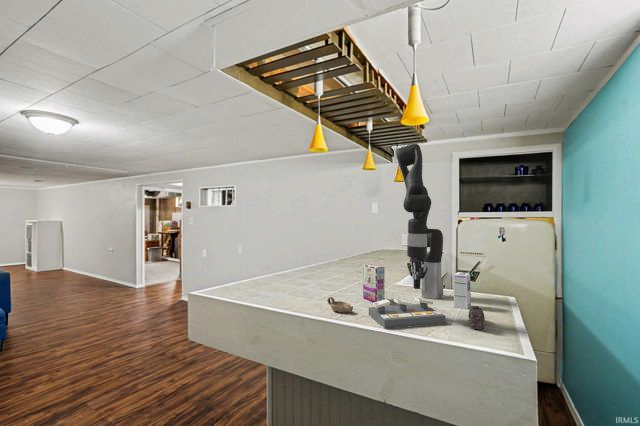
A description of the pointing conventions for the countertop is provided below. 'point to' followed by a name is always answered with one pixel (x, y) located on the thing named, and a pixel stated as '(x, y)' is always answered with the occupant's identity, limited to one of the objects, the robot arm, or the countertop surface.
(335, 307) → the oil lamp
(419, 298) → the rocker
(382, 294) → the candy bar box
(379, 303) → the rocker
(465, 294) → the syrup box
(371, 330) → the countertop surface
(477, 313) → the perforated stone tool
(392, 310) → the switch console
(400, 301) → the middle rocker
